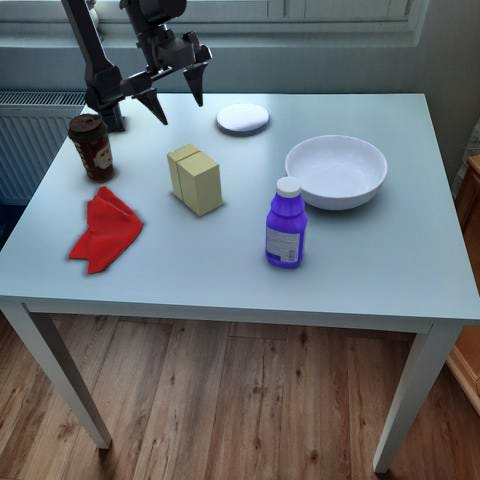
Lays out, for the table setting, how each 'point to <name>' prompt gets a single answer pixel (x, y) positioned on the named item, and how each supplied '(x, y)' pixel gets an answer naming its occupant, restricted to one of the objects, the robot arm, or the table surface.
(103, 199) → the cloth
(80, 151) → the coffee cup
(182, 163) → the butter block
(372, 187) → the serving bowl
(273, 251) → the bottle
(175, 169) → the butter slice
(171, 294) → the table surface
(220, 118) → the saucer
